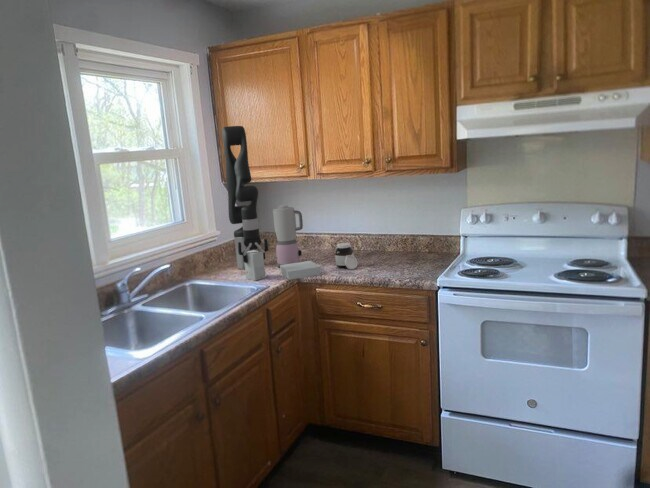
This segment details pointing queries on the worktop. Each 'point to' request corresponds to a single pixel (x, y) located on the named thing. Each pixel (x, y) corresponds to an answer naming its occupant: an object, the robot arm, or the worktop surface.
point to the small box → (255, 265)
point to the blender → (287, 234)
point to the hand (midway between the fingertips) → (254, 261)
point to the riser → (300, 270)
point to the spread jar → (345, 256)
